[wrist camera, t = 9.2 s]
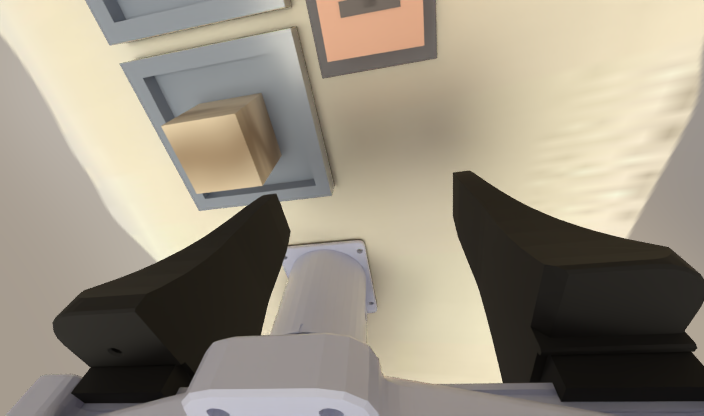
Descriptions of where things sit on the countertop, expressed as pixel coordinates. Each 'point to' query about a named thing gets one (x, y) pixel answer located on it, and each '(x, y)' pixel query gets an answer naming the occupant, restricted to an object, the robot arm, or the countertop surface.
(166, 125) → the plain cube
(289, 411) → the robot arm
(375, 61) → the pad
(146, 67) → the dish
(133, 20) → the dish
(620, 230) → the countertop surface
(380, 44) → the letter cube
